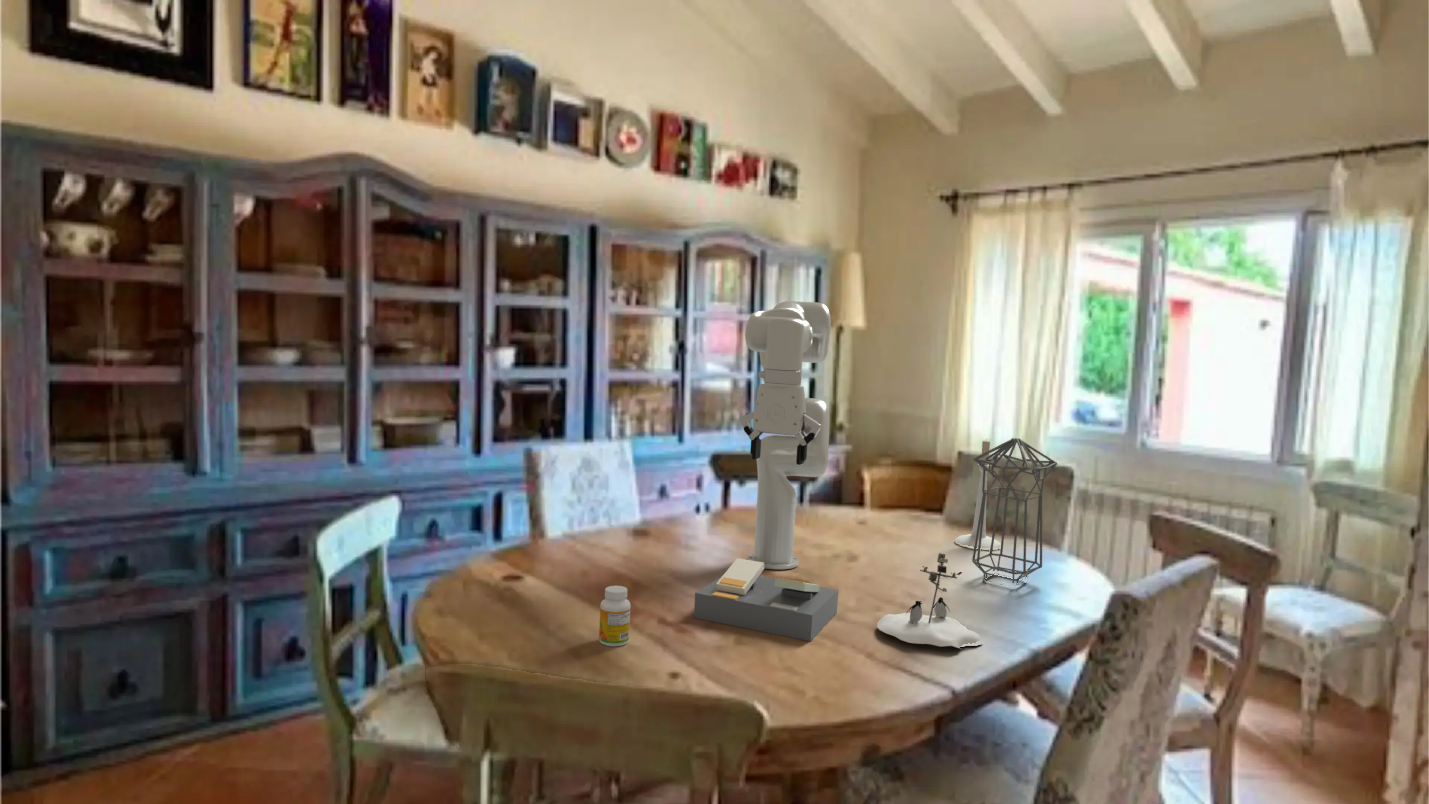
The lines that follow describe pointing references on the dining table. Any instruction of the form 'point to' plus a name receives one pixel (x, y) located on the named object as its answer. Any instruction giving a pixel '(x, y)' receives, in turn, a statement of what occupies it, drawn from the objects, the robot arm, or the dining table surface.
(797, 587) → the sage rocker
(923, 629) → the figurine
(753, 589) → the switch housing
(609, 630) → the supplement bottle
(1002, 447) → the geometric lantern
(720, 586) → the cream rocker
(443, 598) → the dining table surface
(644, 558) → the dining table surface
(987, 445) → the candlestick
